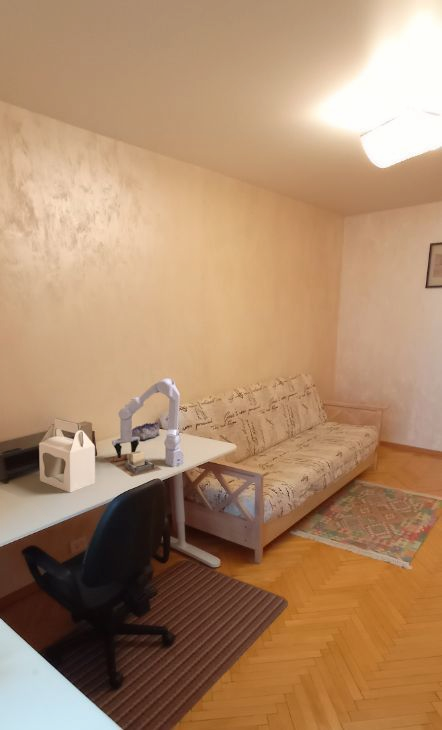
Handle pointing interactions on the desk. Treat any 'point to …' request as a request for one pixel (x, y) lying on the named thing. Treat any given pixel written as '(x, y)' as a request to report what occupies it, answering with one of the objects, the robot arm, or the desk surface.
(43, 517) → the desk surface
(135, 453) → the block
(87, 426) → the decorative block
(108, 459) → the lane board
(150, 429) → the geode
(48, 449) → the gable box
